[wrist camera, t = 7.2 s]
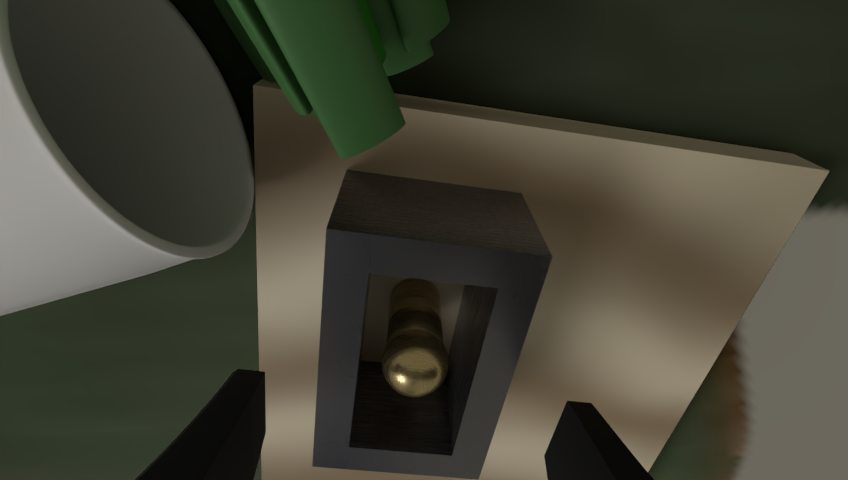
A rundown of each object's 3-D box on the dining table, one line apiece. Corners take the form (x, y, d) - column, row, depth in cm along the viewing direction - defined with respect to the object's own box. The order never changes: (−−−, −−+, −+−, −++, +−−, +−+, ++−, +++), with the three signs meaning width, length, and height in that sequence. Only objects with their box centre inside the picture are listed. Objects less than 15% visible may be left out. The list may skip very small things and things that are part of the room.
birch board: (588, 523, 24) (598, 554, 23) (271, 500, 23) (263, 532, 22) (792, 153, 15) (829, 170, 13) (268, 74, 13) (252, 85, 12)
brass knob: (437, 322, 16) (444, 414, 13) (384, 316, 16) (376, 408, 12) (447, 278, 15) (456, 364, 12) (390, 271, 15) (384, 356, 12)
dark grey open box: (467, 391, 17) (478, 479, 14) (330, 378, 17) (312, 466, 14) (521, 193, 14) (552, 257, 11) (346, 169, 13) (326, 228, 10)
